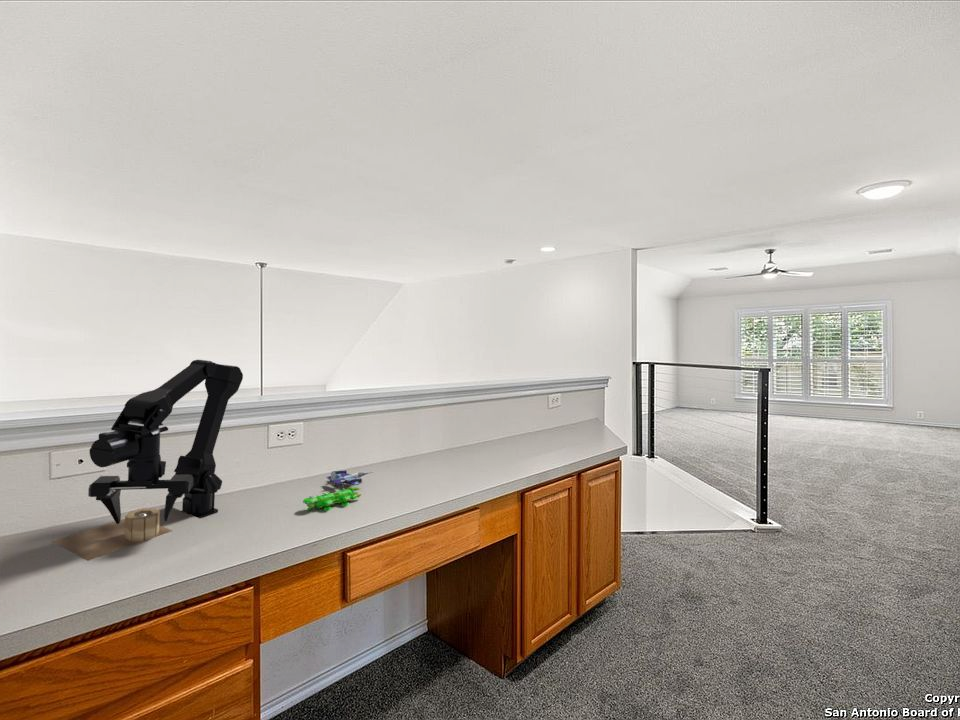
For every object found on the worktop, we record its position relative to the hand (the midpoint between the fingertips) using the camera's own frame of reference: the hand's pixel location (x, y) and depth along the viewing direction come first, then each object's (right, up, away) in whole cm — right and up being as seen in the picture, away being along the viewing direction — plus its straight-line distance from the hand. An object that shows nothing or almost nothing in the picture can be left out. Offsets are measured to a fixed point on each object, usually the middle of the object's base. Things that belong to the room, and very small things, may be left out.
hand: (142, 522), depth 111 cm
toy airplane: (+34, -4, +46) cm, 58 cm away
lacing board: (-6, -4, -1) cm, 7 cm away
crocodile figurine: (+34, -5, +30) cm, 45 cm away
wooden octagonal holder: (0, -3, 0) cm, 3 cm away
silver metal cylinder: (0, -3, 0) cm, 3 cm away
